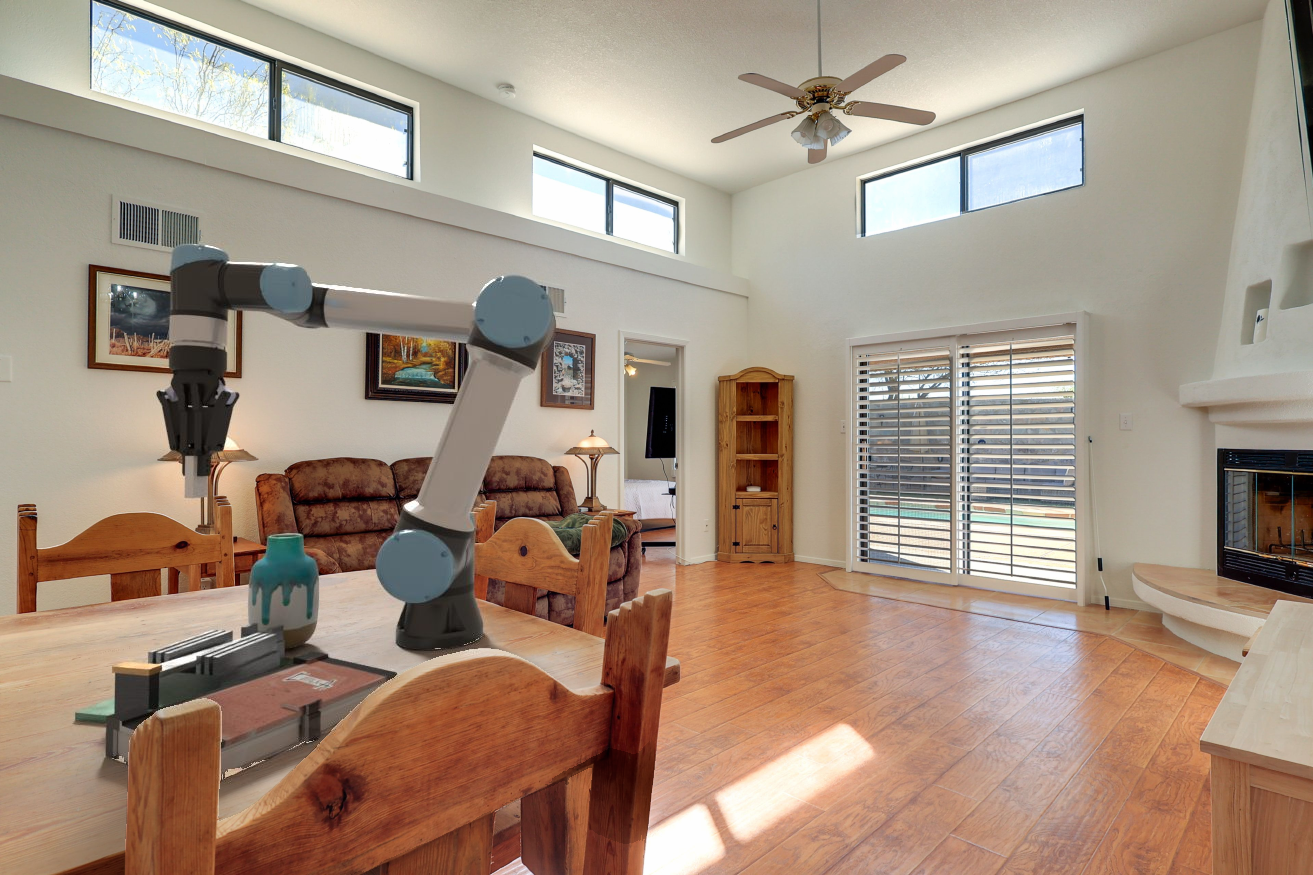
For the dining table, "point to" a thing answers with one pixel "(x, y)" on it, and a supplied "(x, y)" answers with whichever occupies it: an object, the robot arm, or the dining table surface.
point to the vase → (285, 590)
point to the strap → (183, 662)
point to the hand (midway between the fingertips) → (196, 497)
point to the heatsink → (192, 670)
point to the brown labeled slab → (270, 708)
